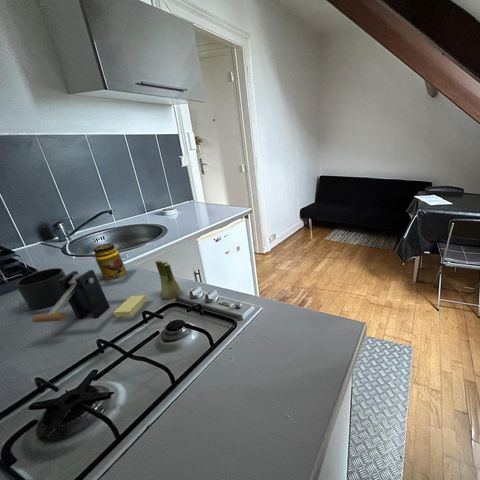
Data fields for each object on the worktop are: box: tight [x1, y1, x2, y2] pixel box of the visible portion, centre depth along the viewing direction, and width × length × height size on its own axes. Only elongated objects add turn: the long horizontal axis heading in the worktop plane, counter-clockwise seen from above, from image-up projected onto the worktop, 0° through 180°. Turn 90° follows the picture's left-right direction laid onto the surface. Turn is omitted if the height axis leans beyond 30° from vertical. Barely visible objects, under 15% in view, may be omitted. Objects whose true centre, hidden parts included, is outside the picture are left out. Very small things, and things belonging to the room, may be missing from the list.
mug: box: [15, 267, 67, 311], centre depth 74 cm, size 9×12×9 cm
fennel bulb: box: [155, 259, 182, 301], centre depth 71 cm, size 6×5×12 cm
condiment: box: [92, 243, 128, 281], centre depth 84 cm, size 7×8×12 cm
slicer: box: [58, 269, 111, 320], centre depth 65 cm, size 12×9×13 cm
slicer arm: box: [32, 273, 84, 324], centre depth 60 cm, size 12×6×2 cm, turn 3°
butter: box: [112, 294, 148, 318], centre depth 68 cm, size 7×4×3 cm, turn 2°
